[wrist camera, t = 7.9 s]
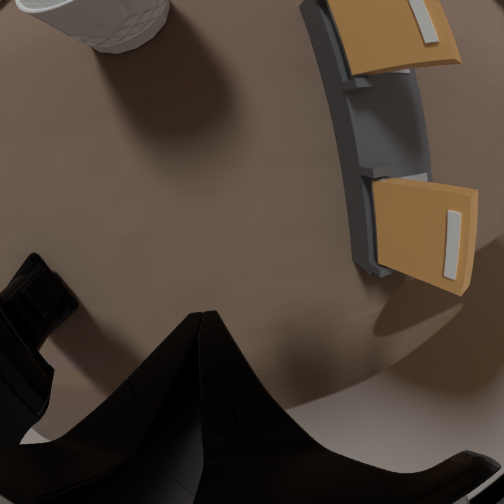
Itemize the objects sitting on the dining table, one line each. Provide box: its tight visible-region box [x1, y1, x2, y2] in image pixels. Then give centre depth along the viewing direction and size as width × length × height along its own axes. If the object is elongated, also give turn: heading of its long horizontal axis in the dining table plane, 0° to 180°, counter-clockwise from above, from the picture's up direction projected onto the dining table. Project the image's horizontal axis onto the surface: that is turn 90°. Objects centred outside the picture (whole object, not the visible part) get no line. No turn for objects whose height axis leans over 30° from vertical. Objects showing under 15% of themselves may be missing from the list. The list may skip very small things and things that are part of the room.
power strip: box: [299, 0, 432, 278], centre depth 15 cm, size 7×31×5 cm, turn 13°
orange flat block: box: [370, 176, 478, 296], centre depth 15 cm, size 2×6×8 cm, turn 13°
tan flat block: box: [325, 0, 462, 79], centre depth 10 cm, size 2×6×8 cm, turn 13°
